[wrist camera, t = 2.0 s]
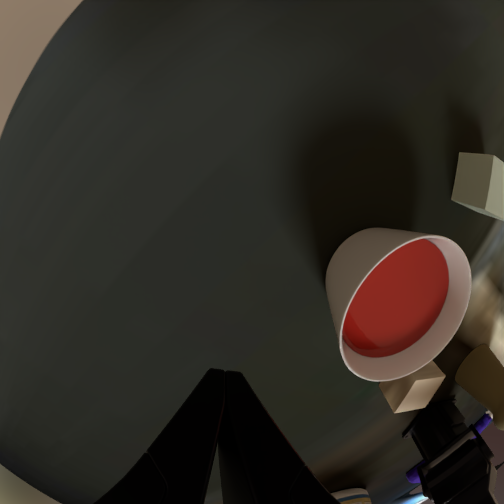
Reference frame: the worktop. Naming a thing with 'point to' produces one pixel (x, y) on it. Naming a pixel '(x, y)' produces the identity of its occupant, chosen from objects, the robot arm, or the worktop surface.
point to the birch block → (413, 388)
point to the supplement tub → (352, 496)
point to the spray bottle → (479, 426)
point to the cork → (484, 381)
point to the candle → (396, 299)
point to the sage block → (480, 184)
